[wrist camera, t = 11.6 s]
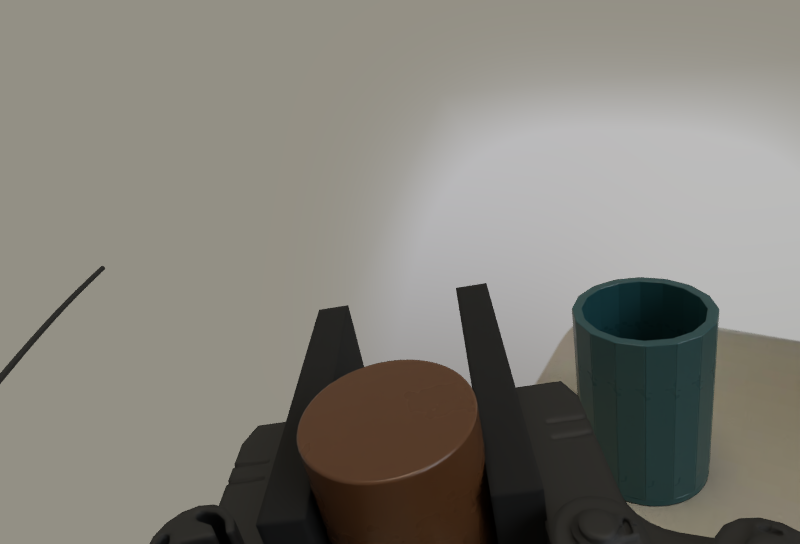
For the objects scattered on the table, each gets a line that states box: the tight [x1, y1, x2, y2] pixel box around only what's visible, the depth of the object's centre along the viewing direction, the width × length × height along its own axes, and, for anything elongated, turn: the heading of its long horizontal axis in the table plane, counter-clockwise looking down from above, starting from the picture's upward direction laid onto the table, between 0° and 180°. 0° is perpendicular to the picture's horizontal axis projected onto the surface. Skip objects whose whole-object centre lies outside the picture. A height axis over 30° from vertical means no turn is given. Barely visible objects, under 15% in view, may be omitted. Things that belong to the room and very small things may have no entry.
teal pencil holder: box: [572, 277, 719, 506], centre depth 37 cm, size 8×8×12 cm
